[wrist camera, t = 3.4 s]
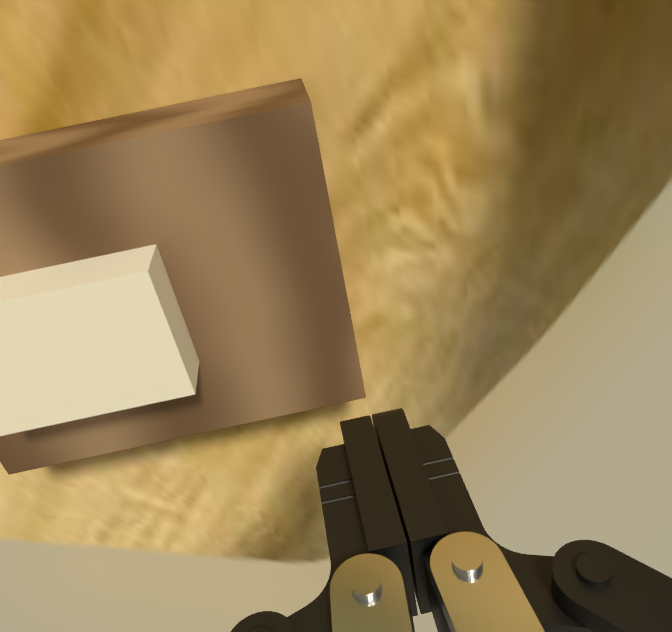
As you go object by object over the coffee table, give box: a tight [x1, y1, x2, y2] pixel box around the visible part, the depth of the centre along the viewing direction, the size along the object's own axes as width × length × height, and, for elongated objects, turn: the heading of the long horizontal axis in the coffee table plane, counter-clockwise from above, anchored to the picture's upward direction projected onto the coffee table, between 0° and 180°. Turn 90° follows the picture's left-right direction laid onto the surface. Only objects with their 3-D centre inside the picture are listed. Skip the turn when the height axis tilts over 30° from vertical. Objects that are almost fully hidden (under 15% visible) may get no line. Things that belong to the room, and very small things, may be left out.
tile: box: [0, 244, 199, 436], centre depth 20 cm, size 7×5×2 cm
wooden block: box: [0, 79, 366, 474], centre depth 23 cm, size 15×12×4 cm
